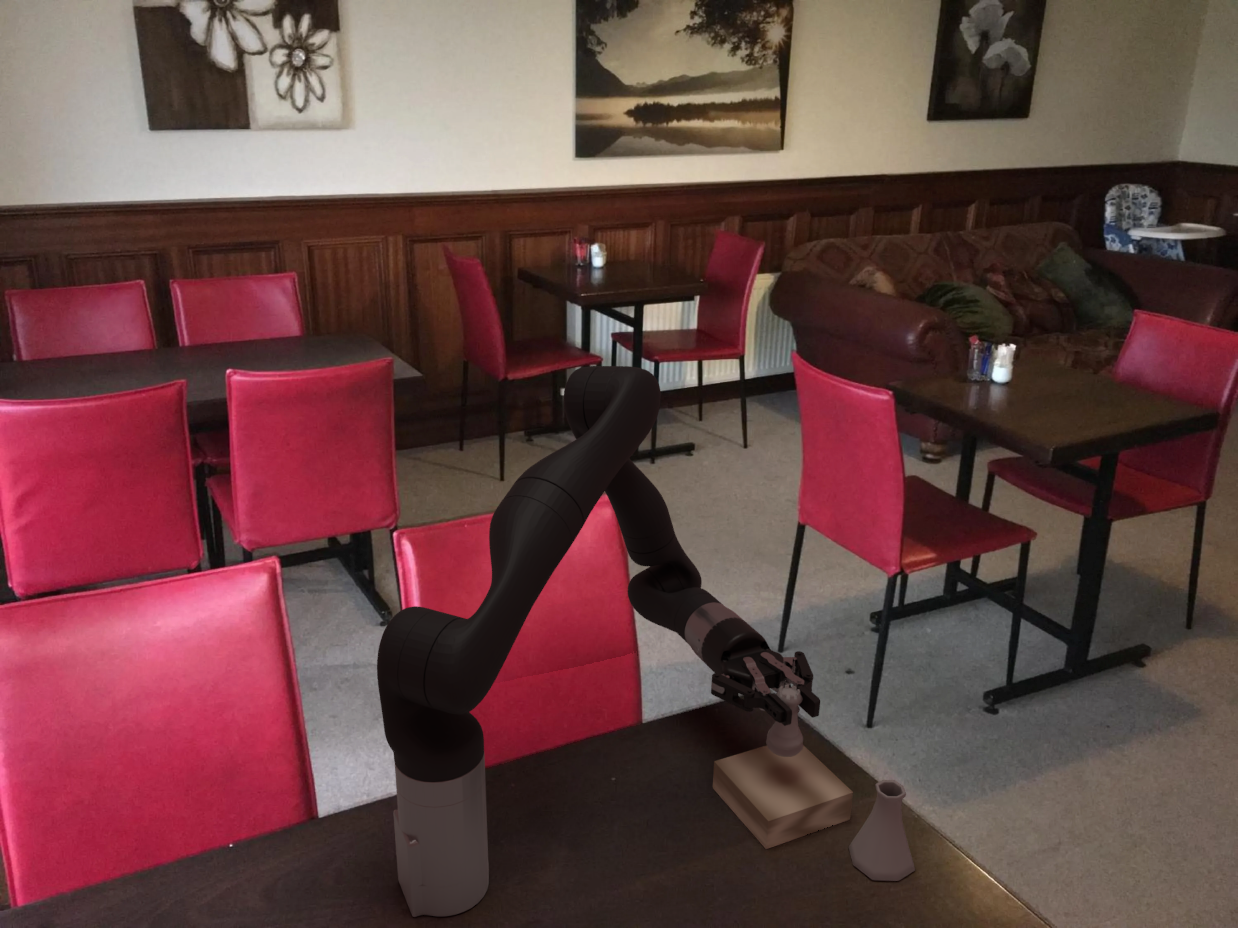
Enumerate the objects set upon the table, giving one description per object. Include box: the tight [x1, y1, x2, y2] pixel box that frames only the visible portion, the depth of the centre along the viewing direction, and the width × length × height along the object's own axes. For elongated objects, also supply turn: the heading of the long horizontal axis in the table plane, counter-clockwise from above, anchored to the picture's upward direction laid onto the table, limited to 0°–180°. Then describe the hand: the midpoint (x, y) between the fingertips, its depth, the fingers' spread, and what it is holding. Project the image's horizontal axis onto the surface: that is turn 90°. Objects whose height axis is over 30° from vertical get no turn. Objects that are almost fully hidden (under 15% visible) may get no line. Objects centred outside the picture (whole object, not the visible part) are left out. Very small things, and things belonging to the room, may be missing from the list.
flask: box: [848, 779, 916, 882], centre depth 116 cm, size 7×7×10 cm
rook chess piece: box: [765, 684, 804, 757], centre depth 122 cm, size 4×4×8 cm
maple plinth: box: [712, 744, 854, 850], centre depth 126 cm, size 12×12×4 cm
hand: (803, 714), depth 119 cm, fingers closed on rook chess piece, 3 cm apart
